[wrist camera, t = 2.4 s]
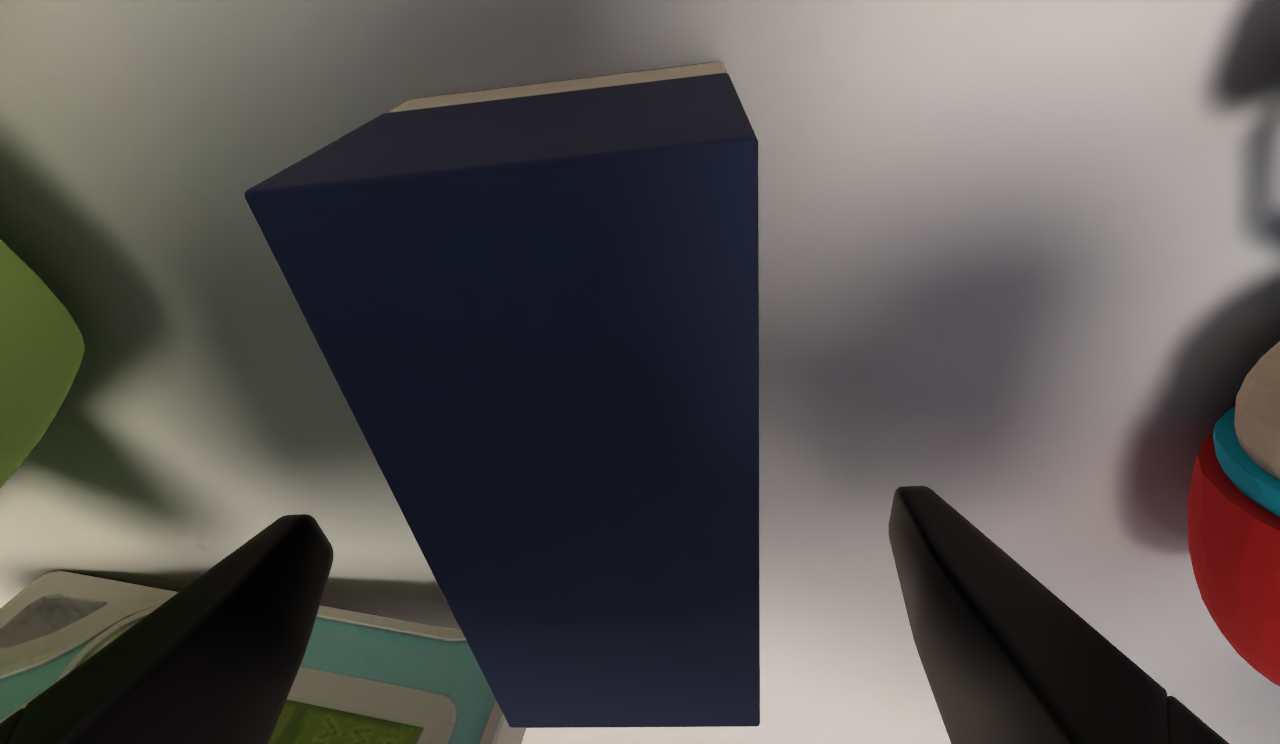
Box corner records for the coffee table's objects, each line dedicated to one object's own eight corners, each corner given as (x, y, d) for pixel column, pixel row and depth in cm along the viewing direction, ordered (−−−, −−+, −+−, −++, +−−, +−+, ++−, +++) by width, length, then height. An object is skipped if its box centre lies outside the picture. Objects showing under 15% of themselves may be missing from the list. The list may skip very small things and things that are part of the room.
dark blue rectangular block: (407, 98, 10) (239, 192, 6) (723, 60, 9) (758, 136, 5) (547, 547, 16) (509, 728, 12) (739, 539, 15) (759, 727, 12)
